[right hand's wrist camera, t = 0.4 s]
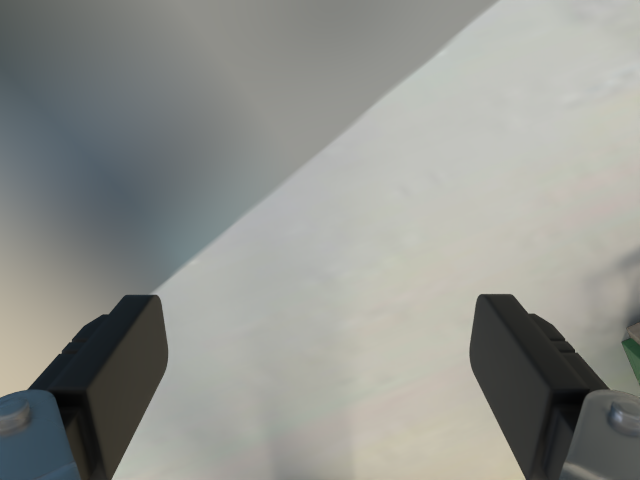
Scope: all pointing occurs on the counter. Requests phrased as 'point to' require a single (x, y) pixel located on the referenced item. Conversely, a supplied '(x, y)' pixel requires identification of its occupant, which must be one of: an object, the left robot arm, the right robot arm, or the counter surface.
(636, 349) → the cabinet
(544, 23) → the counter surface
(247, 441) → the counter surface
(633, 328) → the drawer
